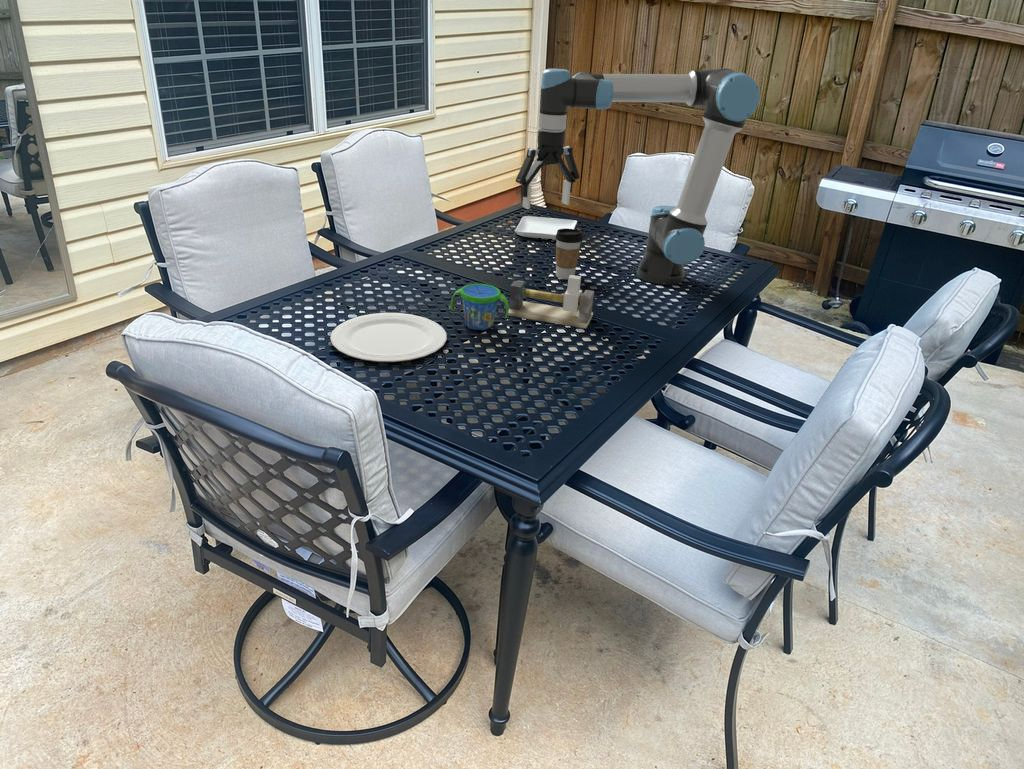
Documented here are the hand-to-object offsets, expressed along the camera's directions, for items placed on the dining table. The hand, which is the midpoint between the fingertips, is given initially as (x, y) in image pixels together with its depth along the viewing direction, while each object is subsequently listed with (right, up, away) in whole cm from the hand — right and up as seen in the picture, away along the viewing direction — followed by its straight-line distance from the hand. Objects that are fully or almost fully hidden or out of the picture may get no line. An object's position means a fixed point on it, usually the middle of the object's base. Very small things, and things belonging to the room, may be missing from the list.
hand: (545, 206), depth 214 cm
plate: (-41, -41, -26) cm, 64 cm away
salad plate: (+3, +5, +64) cm, 64 cm away
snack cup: (-19, -36, -15) cm, 43 cm away
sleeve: (+7, -31, -9) cm, 32 cm away
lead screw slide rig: (+1, -32, -6) cm, 33 cm away
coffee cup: (+7, -17, +23) cm, 30 cm away
